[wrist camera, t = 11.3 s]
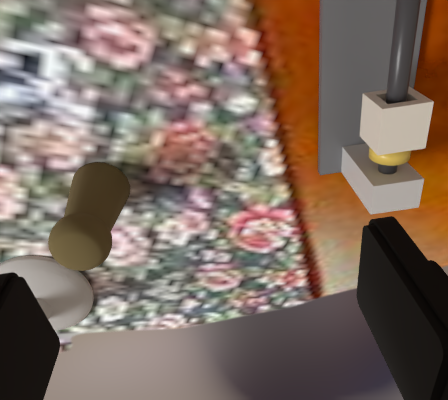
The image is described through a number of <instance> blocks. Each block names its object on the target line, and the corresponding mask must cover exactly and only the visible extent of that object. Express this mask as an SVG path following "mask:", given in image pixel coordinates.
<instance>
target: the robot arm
mask: <svg viewBox="0 0 448 400" xmlns="http://www.w3.org/2000/svg"><path fill="white" fill-rule="evenodd" d="M357 300H358V304H359V307H360V309H361V311H362V313H363V315H364V317H365V319H366V321H367V323H368V326H369V327H370V330H371V332H372V334H373V336H374V338H375V340H376V342H377V344H378V346H379V349H380V351H381V353H382V355H383V357H384V359H385V361H386V363H387V365H388V367H389V369H390V372H391V374H392V376H393V378H394V380H395V382H396V384H397V386H398V388H399V390H400V392H401V394H402V397H403V399H404V400H448V276H447V274H446V273H445V272H444V271H443V269H442V268H441V267H440V266H439V265H438V264H437V263H436V262H434V261H432V260H430V261H428V260H427V259H426V257H425V256H424V255H423V253H422V252H421V251H420V250H419V248H418V247H417V246H416V244H415V243H414V242H413V240H412V239H411V238H410V237H409V235H408V234H407V233H406V231H405V230H404V229H403V228H402V226H401V225H400V224H399V222H398V221H397V220H396V219H395V218H394V217H392V216H391V217H384V218H377V219H372V220H370V222H369V225H367V226H364V227H363V233H362V243H361V254H360V265H359V275H358V286H357ZM59 349H60V341H59V338H58V336H57V334H56V332H55V330H54V329H53V327H52V325H51V323H50V322H49V320H48V318H47V317H46V315H45V313H44V311H43V310H42V308H41V306H40V304H39V303H38V301H37V299H36V297H35V296H34V294H33V292H32V291H31V289H30V287H29V285H28V284H27V282H26V280H25V279H24V278H23V277H19V276H18V275H17V274H16V273H14V272H11V273H4V274H0V400H43V399H44V396H45V393H46V389H47V386H48V383H49V380H50V377H51V374H52V371H53V368H54V365H55V362H56V359H57V356H58V353H59Z"/></svg>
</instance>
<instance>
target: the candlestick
mask: <svg viewBox="0 0 448 400" xmlns="http://www.w3.org/2000/svg"><path fill="white" fill-rule="evenodd" d="M11 272H14V273H16V274H17V275H18V276H19V277H23V278H24V279H25V280H26V282H27V284H28V285H29V287H30V289H31V291H32V292H33V294H34V296H35V297H36V299H37V301H38V303H39V304H40V306H41V308H42V310H43V311H44V313H45V315H46V317H47V318H48V320H49V322H50V323H51V325H52V327H53V329H54V330H61V329H65V328H68V327H71V326H73V325H76V324H77V323H79V322H81V321H82V320H83V319H84V318H85V317H86V316H87V315H88V314H89V312H90V310H91V308H92V305H93V300H94V294H93V290H92V287H91V285H90V283H89V282H88V280H87V279H86V278H85V276H84V275H83V274H82V273H80V272H79V271H78V270H72V269H68V268H66V267H64V266H62V265H60V264H59V263H58V262H57V261H56V260H55V259H53V258H49V257H43V256H20V257H15V258H12V259H9V260H6V261H4V262H2V263H1V264H0V274H4V273H11Z"/></svg>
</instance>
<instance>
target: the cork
mask: <svg viewBox="0 0 448 400" xmlns="http://www.w3.org/2000/svg"><path fill="white" fill-rule="evenodd" d="M129 194H130V185H129V182H128V179H127V177H126V176H125V175H124V174H123V172H122V171H120V170H119V169H117V168H116V167H115V166H112V165H109V164H107V163H99V162H95V163H89V164H86V165H84V166H82V167H81V168H79V169H78V171H77V172H76V173H75V174H74V177H73V180H72V184H71V189H70V193H69V197H68V202H67V206H66V210H65V215H64V217H63V218H61V219H60V220H59V221H58V222H57V223H56V224H55V226H54V227H53V228H52V230H51V233H50V236H49V241H48V244H49V250H50V252H51V254H52V256H53V258H54V259H55V260H56V261H57V262H58V263H59V264H60V265H62V266H64V267H66V268H68V269H72V270H78V271H85V270H90V269H93V268H95V267H97V266H99V265H100V264H101V263H103V262H104V261H105V260H106V258H107V257H108V255H109V253H110V250H111V247H112V235H111V230H112V228H113V226H114V224H115V222H116V220H117V218H118V216H119V214H120V213H121V211H122V209H123V207H124V205H125V203H126V201H127V199H128V197H129Z"/></svg>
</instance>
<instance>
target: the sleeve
mask: <svg viewBox="0 0 448 400" xmlns="http://www.w3.org/2000/svg"><path fill="white" fill-rule="evenodd" d="M386 91H387V90H381V91H374V92H368V93H363V97H362V110H361V123H360V137H361V138H362V139H363V140H364V141H365V142H366V144H367V145H368V146H369V147H370V148H371V149H372V150H373V151H374V152H375V153H376V154H377V155H384V154H391V153H397V152H404V151H411V150H418V149H424V148H426V142H427V137H428V131H429V126H430V120H431V115H432V109H433V104H434V101H432V100H430V99H429V98H427V97H426V96H424V95H422V94H421V93H419V92H417V91H416V90H414V89H413V88H411V87H409V88H408V95H407V102H400V103H393V104H387V103H386V102H385V100H386Z"/></svg>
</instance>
